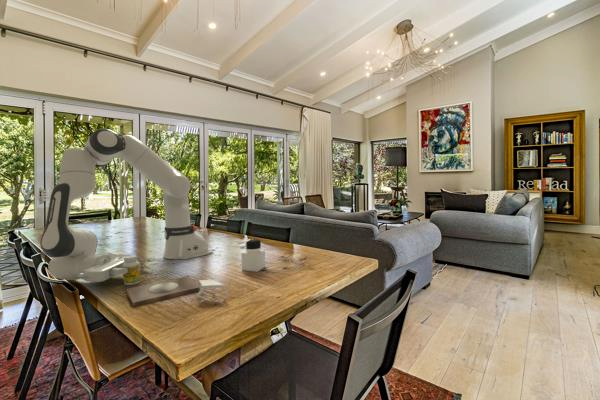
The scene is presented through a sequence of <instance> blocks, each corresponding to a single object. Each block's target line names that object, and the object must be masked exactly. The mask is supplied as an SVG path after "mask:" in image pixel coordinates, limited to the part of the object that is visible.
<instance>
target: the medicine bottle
mask: <svg viewBox="0 0 600 400" xmlns="http://www.w3.org/2000/svg"><path fill="white" fill-rule="evenodd" d="M244 242H245V243H244V244H245V250H244V251H243V252H241V271H247V272H254V273H257V272H260V271H261V270H262V269H264V268H265V267H266V251H265V250H264V249H261V247H262V246H261V243H262V242H261V240H260V239H257V238H249V239H247V240H245V241H244Z"/></svg>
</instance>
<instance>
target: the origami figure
mask: <svg viewBox="0 0 600 400" xmlns="http://www.w3.org/2000/svg"><path fill="white" fill-rule="evenodd" d="M198 285H199V288H200V291H197V293H196V295H195V297H197V298H200V299H202V300H201V301H200V303H203V302H204V301H206V300H207V298H206V297H204V296H202V295H203V292H204V291H205V289H207V288H208V289H212V288H213V289H212V295H214V296H215V293H216V288H223V289H224V293H225V295H224V296H222V299H221V302H224V300H225V299H224V298H226V297H227V296H229V292H228V290H227V288H226V286H225V285H224V284H223V283H221V282H220V281H217V280H214V279H200V280H198Z"/></svg>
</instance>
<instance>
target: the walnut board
mask: <svg viewBox="0 0 600 400" xmlns="http://www.w3.org/2000/svg"><path fill="white" fill-rule="evenodd" d="M125 291H126V295H127V297H128V298H129V300H130V303H131V304H132V307H138V306H142V305H145V304H146V305H147V304H150V303H154V302H158V301H164V300H167V299H171V298H175V297H179V296H184V295H188V294H192V293H196V292H197V293H198V292H199V291H200V288H199V283H197V282H196V281H195V280H193V279H192V278H191V277H190V276H188V275H187V276H180V277H178V278H177V277H176V278H171V279H167V280H162V281H158V282H153V283H147V284H143V285H139V286H133V287H129V288H126V289H125Z"/></svg>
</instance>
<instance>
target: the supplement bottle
mask: <svg viewBox="0 0 600 400" xmlns="http://www.w3.org/2000/svg"><path fill="white" fill-rule="evenodd" d="M130 255H131V256H126V257H124V261H125V263H124V264H123V268H129V272H128V273H127V274H122V276H123V278H122V279H123V284H124V285H125V286H131V285H132V286H133V285H137V284H139V283H140V282H141V280H142V278H141V266H140V265H141V262H140V261H138V256H137V255H136V254H134V255H133V254H130ZM136 260H137V261H136ZM139 262H140V263H139Z"/></svg>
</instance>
